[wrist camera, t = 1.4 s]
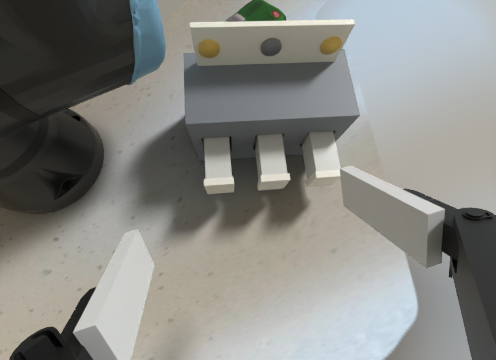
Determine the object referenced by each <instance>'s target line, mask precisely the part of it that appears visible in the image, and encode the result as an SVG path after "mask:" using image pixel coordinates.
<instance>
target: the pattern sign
mask: <svg viewBox="0 0 496 360" xmlns="http://www.w3.org/2000/svg"><path fill="white" fill-rule="evenodd" d="M354 25H355V23H354V20H298V21H243V22H190V29H191V34H192V40H193V45H194V50H195V55H196V61H197V66H213V65H245V64H276V63H307V62H335V60H336V59H337V57H338V55H339V53H340V51H341V49H342V47H343V45H344V44H345V42H346V40H347V38H348V36H349V34H350V32H351V30H352V29H353V27H354Z"/></svg>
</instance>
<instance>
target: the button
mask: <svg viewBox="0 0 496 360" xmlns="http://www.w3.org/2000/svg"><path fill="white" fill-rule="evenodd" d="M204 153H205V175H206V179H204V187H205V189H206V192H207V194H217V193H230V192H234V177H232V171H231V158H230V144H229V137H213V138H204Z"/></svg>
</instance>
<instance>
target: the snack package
mask: <svg viewBox="0 0 496 360" xmlns="http://www.w3.org/2000/svg"><path fill="white" fill-rule="evenodd" d="M243 21H286V17H285V15H284V14H283V12H281V11H280V10H279V9H278V8H276V7H274V6H272V5H270V4H269V3H267V2H265V1H263V0H252V1H251V2H249V3H248V4H246V5H245V6H244V7H243V8H241V9H240V10H239V11H238V12H237V13H235V14H234V15H233V16H231V17H230V18H228V19H227V20H226V21H225V22H243Z"/></svg>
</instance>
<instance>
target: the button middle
mask: <svg viewBox="0 0 496 360" xmlns="http://www.w3.org/2000/svg"><path fill="white" fill-rule="evenodd" d="M254 143H255V152H256V162H257V171H258V184H257V188H258V190H271V189H283V188H284V187H285V186H286V185H287V183H288V182H289V181H290V173H287V167H286V160H285V153H284V145H283V138H282V134H267V135H256V136H255V141H254Z"/></svg>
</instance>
